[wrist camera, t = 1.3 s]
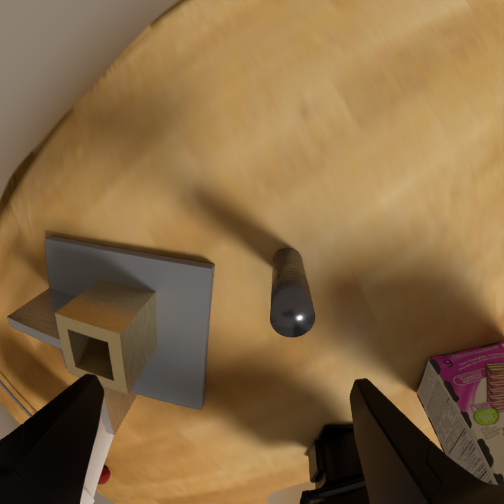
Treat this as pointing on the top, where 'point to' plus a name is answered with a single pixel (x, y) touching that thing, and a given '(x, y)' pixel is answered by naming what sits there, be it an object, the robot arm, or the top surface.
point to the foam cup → (96, 463)
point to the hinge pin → (290, 295)
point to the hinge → (98, 337)
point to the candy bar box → (468, 408)
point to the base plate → (167, 309)
